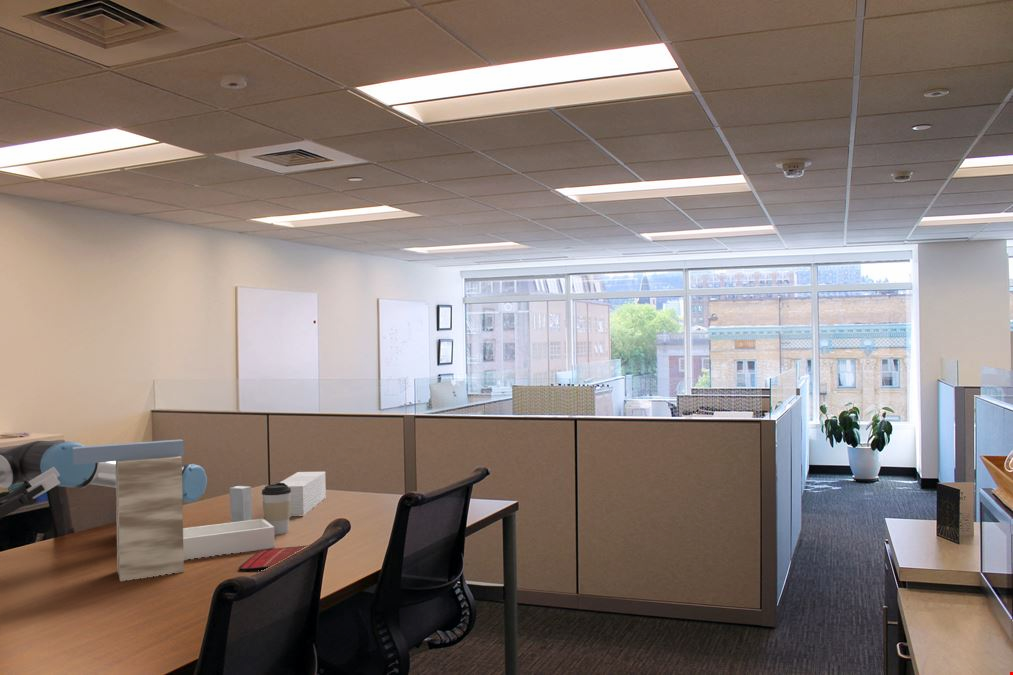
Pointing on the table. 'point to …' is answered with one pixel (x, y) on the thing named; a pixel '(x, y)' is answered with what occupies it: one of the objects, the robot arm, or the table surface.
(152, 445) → the block
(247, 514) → the skincare box
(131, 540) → the beige tall box
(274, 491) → the coffee cup
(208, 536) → the tray
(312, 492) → the stack of papers
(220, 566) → the table surface
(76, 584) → the table surface
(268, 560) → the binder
